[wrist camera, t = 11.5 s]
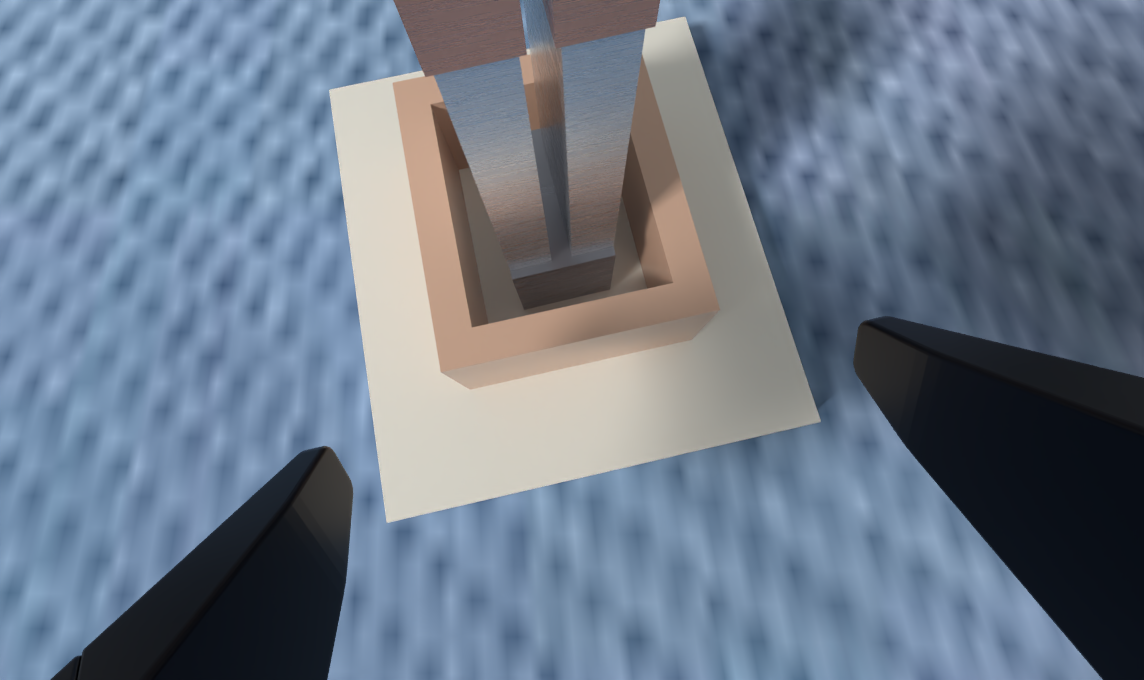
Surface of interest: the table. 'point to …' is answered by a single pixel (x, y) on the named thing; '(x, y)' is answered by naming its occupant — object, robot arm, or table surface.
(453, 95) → the slotted copper-topped post
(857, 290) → the table surface
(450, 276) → the holder
